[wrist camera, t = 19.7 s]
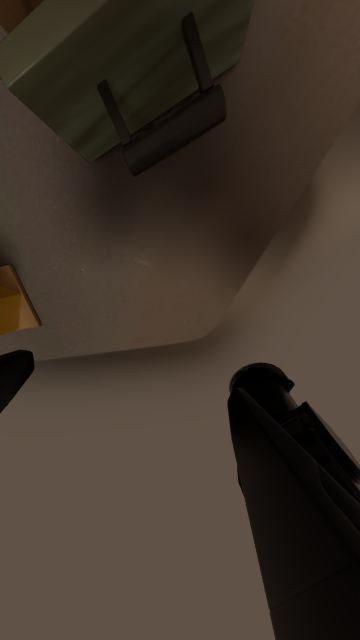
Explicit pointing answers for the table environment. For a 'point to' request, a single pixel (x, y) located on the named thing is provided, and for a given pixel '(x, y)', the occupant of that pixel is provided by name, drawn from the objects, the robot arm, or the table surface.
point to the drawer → (122, 69)
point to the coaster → (27, 315)
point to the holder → (9, 310)
